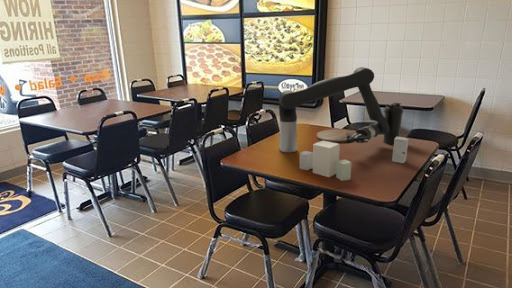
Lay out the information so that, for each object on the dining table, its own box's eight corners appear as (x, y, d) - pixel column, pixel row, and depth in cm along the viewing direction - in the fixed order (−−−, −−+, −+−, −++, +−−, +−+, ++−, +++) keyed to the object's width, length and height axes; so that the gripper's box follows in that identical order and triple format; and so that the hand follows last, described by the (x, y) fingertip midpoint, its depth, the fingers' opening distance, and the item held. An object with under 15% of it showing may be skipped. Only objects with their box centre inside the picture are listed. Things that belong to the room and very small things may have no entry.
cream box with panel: (328, 177, 167) (329, 148, 163) (312, 172, 173) (313, 144, 169) (338, 172, 172) (339, 143, 168) (322, 168, 178) (323, 140, 174)
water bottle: (404, 143, 212) (407, 104, 206) (390, 145, 209) (393, 105, 202) (391, 138, 221) (395, 101, 215) (378, 141, 218) (380, 102, 211)
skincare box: (391, 161, 184) (393, 138, 180) (393, 159, 188) (395, 136, 184) (404, 163, 181) (406, 140, 177) (406, 161, 184) (408, 137, 181)
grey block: (299, 168, 179) (299, 153, 176) (305, 166, 182) (305, 150, 179) (307, 170, 176) (307, 154, 173) (312, 168, 179) (312, 152, 176)
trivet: (365, 136, 228) (365, 134, 228) (342, 146, 212) (342, 142, 211) (331, 130, 246) (331, 127, 245) (308, 138, 229) (308, 135, 229)
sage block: (336, 177, 167) (336, 160, 164) (344, 175, 168) (345, 159, 166) (341, 180, 163) (342, 164, 160) (350, 179, 164) (351, 162, 162)
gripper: (354, 125, 198) (336, 131, 187) (377, 129, 190) (360, 136, 178) (353, 138, 201) (336, 145, 189) (376, 143, 192) (359, 151, 180)
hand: (348, 141), depth 183 cm, fingers closed
